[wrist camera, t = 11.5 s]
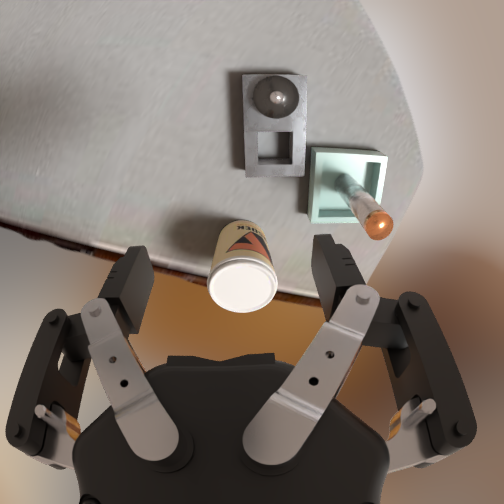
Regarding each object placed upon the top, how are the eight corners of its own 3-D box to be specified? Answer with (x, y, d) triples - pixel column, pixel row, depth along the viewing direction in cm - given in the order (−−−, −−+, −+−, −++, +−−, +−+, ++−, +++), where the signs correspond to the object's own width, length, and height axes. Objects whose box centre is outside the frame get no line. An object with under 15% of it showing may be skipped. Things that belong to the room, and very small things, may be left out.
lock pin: (335, 173, 39) (370, 214, 29) (355, 173, 39) (395, 214, 29) (333, 194, 41) (365, 240, 31) (353, 194, 41) (389, 239, 31)
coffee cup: (281, 233, 46) (292, 281, 36) (249, 271, 50) (252, 322, 40) (232, 204, 43) (230, 248, 33) (203, 247, 47) (194, 297, 37)
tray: (311, 147, 38) (316, 152, 35) (379, 151, 38) (387, 156, 35) (307, 214, 44) (311, 223, 41) (369, 213, 44) (376, 222, 42)
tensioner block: (242, 75, 32) (242, 74, 28) (302, 75, 32) (310, 75, 28) (245, 170, 40) (245, 181, 36) (300, 169, 40) (306, 180, 36)
